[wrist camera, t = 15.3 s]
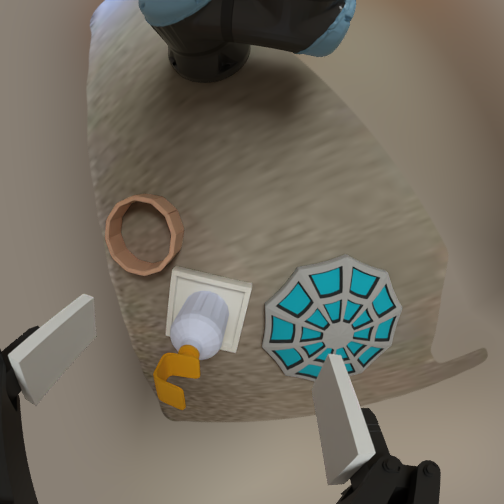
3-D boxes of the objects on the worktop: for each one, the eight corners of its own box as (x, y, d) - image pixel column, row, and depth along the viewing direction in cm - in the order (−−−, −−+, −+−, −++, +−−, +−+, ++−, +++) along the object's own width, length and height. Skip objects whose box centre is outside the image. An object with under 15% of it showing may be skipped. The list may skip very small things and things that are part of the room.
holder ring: (122, 189, 48) (109, 191, 43) (189, 201, 48) (181, 204, 43) (115, 257, 52) (103, 264, 47) (177, 273, 52) (169, 283, 47)
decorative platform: (268, 249, 50) (268, 257, 45) (408, 256, 49) (420, 264, 45) (259, 377, 59) (258, 392, 54) (376, 374, 58) (382, 387, 53)
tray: (176, 265, 51) (172, 269, 49) (252, 283, 52) (251, 288, 49) (169, 329, 55) (165, 335, 53) (236, 346, 56) (235, 352, 53)
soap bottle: (229, 331, 54) (208, 425, 30) (185, 327, 54) (144, 413, 30) (230, 291, 51) (205, 379, 28) (183, 287, 51) (131, 366, 28)
